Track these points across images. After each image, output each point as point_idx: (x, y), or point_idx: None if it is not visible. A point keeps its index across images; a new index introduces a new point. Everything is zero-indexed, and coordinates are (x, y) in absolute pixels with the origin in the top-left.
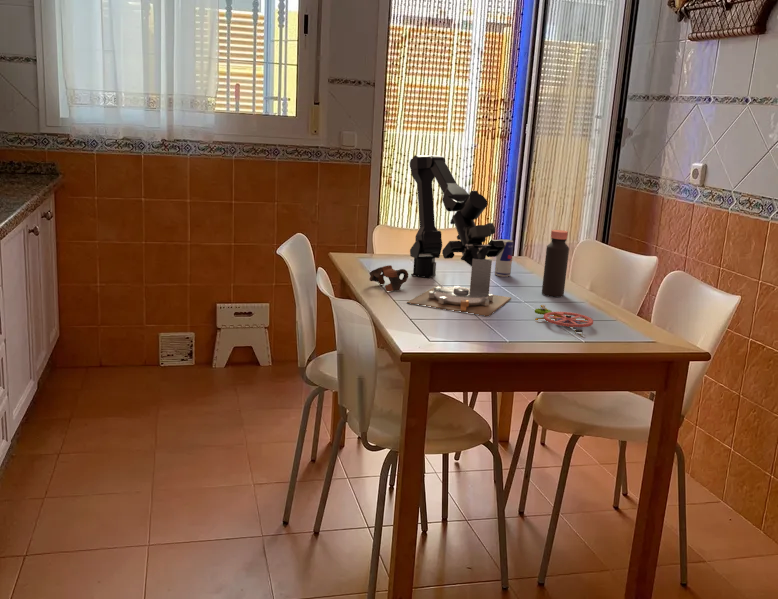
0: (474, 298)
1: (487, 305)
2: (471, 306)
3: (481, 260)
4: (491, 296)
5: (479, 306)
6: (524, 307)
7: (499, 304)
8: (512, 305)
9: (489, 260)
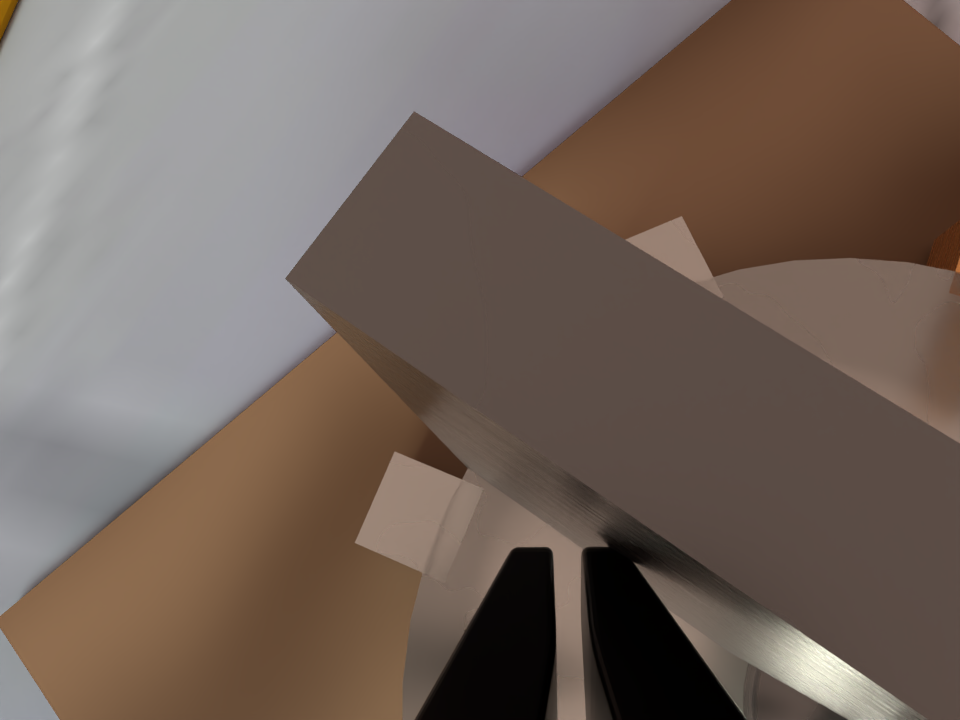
0: (800, 345)
1: None
2: None
3: (865, 400)
4: (418, 464)
5: None
6: (129, 214)
7: None
8: (210, 324)
9: (504, 180)
